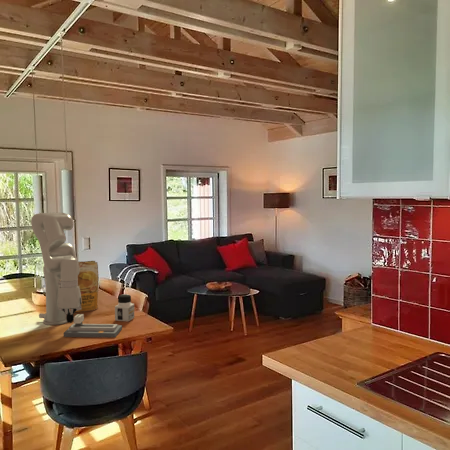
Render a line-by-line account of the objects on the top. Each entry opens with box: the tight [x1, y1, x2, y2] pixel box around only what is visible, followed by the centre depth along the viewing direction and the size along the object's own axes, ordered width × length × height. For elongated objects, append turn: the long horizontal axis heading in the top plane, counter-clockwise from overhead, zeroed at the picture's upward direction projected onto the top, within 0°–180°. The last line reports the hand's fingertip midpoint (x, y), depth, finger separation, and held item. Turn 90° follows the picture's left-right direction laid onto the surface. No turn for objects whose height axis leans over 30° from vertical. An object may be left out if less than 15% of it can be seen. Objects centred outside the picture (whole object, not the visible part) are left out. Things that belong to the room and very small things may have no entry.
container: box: [114, 293, 135, 322], centre depth 223 cm, size 8×8×13 cm
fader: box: [73, 313, 85, 327], centre depth 200 cm, size 3×5×6 cm, turn 179°
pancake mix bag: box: [70, 260, 100, 314], centre depth 238 cm, size 7×19×28 cm, turn 123°
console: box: [63, 323, 123, 338], centre depth 200 cm, size 24×12×4 cm, turn 89°
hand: (70, 322), depth 200 cm, fingers closed
